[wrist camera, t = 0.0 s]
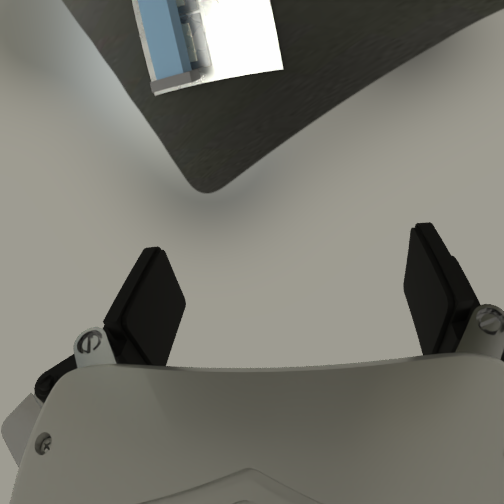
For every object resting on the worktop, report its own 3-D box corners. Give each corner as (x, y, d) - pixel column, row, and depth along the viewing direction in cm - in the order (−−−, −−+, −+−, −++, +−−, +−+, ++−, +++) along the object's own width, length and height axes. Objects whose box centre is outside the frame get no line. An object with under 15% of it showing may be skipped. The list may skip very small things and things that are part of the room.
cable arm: (133, -54, 20) (117, -61, 17) (168, -67, 20) (155, -77, 16) (165, 87, 32) (151, 93, 29) (201, 78, 31) (191, 82, 28)
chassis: (130, -36, 25) (114, -42, 21) (252, -71, 22) (248, -83, 18) (160, 93, 37) (146, 99, 33) (283, 68, 34) (282, 70, 30)
